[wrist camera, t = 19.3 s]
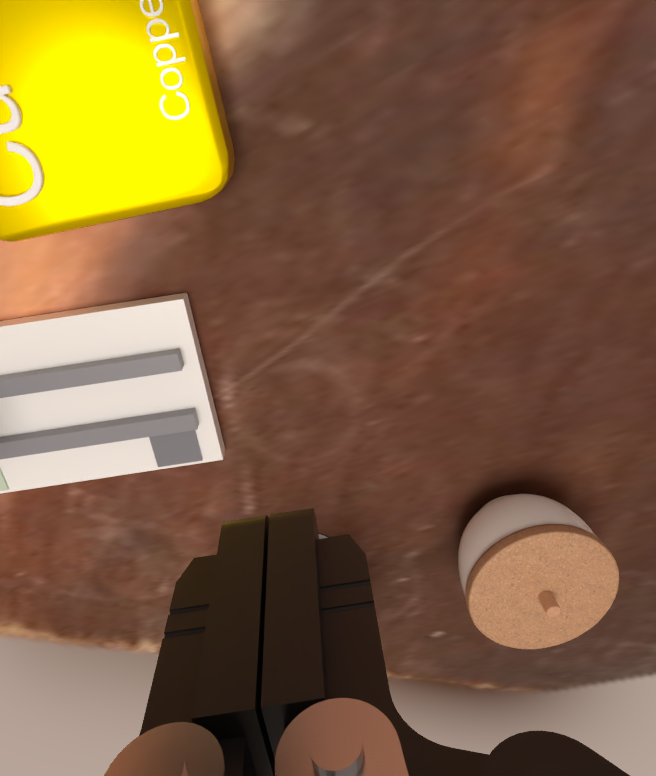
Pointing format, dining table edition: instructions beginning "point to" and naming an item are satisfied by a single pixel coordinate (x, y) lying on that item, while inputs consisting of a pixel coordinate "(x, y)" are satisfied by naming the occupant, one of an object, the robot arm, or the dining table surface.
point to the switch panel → (103, 394)
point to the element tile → (106, 113)
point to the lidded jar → (534, 572)
